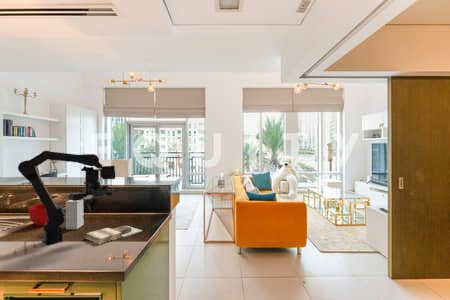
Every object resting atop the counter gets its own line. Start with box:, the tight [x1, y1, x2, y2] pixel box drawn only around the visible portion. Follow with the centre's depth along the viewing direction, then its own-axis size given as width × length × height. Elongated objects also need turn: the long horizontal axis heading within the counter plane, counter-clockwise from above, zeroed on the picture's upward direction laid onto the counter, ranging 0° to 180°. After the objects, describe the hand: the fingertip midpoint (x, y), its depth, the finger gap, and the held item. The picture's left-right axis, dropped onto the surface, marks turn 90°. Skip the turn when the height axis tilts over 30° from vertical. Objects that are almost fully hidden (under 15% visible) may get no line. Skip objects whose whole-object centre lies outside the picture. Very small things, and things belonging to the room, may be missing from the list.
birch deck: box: [85, 227, 123, 245], centre depth 122 cm, size 11×12×2 cm
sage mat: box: [122, 225, 143, 238], centre depth 132 cm, size 11×13×1 cm
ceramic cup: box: [28, 203, 59, 227], centre depth 145 cm, size 13×17×10 cm
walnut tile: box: [112, 225, 132, 234], centre depth 130 cm, size 7×6×2 cm
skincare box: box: [65, 199, 85, 230], centre depth 138 cm, size 8×6×15 cm
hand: (91, 212), depth 124 cm, fingers closed
